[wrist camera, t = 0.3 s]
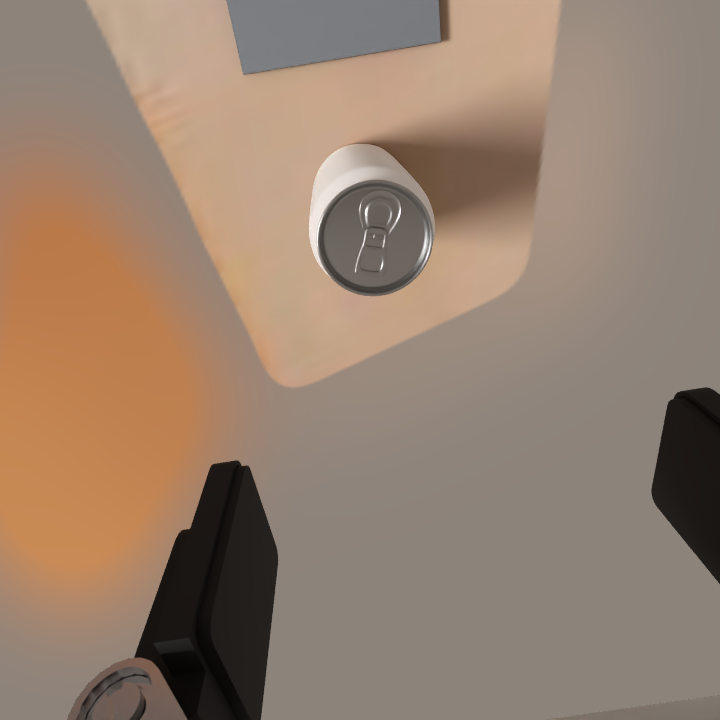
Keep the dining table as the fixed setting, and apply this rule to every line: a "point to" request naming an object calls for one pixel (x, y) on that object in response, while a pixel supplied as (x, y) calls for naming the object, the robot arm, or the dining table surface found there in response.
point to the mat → (327, 29)
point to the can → (369, 221)
